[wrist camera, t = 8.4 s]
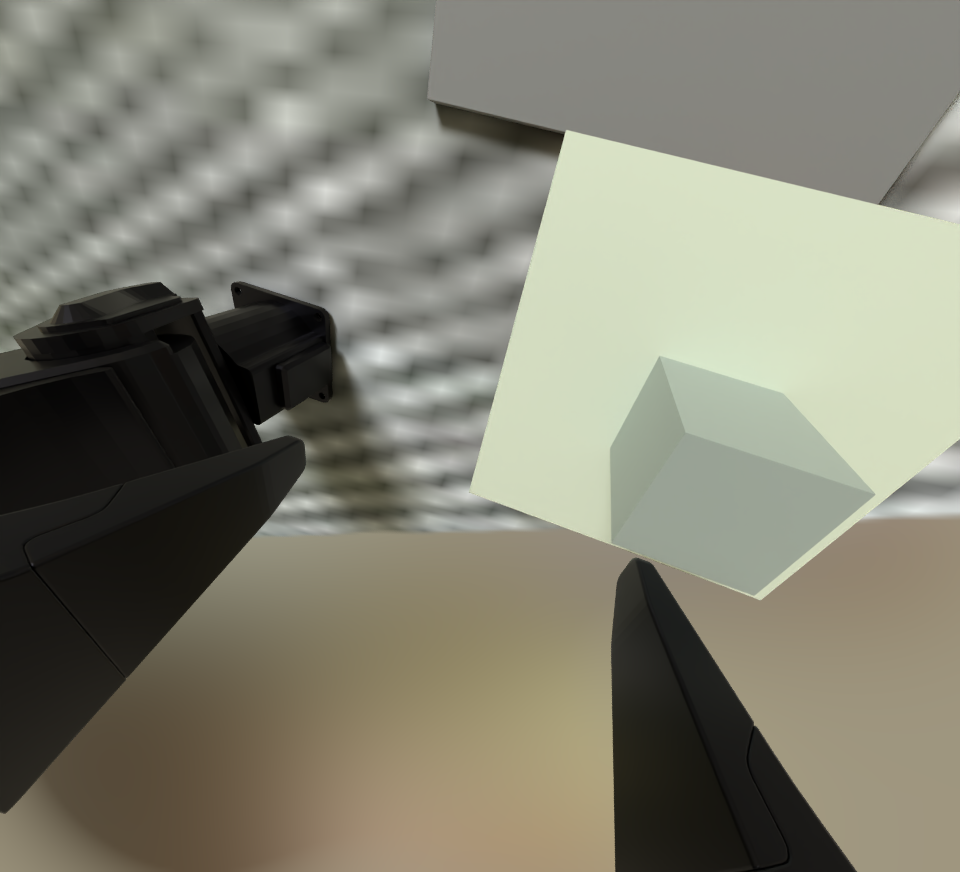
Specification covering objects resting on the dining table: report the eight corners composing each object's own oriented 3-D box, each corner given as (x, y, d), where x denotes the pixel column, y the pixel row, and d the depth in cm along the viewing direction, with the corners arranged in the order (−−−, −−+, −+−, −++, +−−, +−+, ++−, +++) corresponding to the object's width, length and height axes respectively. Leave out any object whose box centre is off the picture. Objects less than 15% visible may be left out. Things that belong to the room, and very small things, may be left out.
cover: (475, 477, 19) (429, 576, 14) (569, 136, 11) (537, 80, 6) (752, 577, 17) (810, 730, 12) (1105, 265, 9) (1698, 343, 4)
